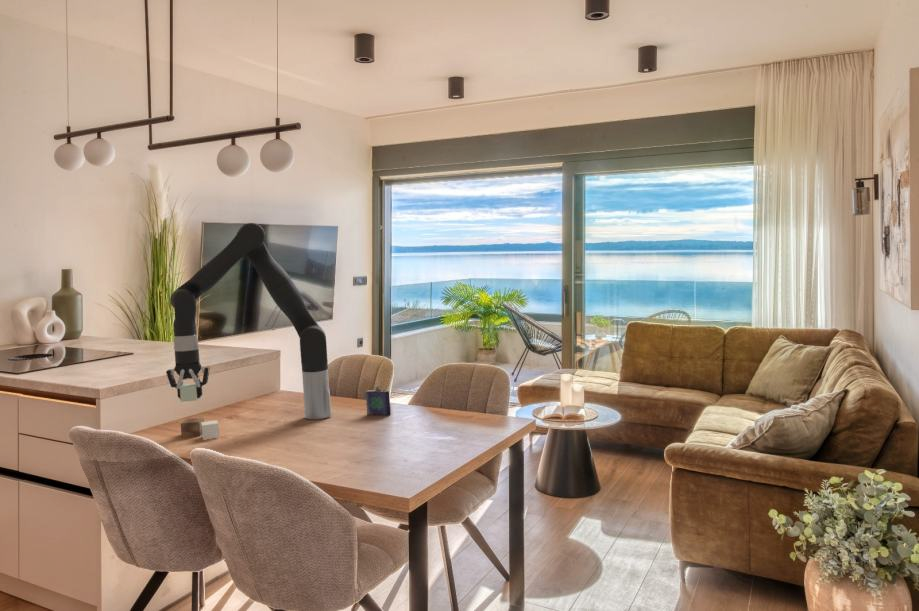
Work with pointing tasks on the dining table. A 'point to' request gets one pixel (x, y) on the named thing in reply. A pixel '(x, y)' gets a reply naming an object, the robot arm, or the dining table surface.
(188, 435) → the walnut block
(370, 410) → the flask
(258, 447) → the dining table surface
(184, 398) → the sage block
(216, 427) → the cream block
